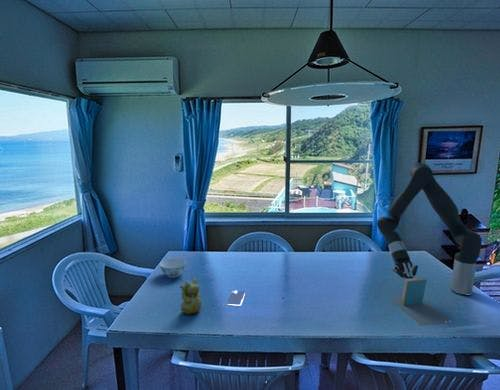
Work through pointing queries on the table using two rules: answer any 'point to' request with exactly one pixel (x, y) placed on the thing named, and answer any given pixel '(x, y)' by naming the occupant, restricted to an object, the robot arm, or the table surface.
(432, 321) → the mat
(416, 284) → the tile
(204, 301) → the table surface
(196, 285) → the decorative figurine
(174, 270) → the chinaware
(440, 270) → the table surface
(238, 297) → the mobile phone
